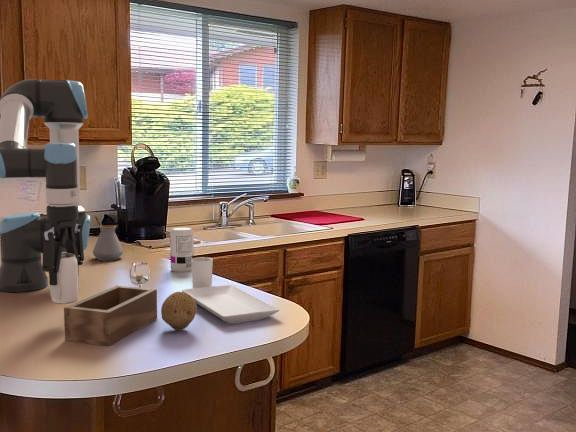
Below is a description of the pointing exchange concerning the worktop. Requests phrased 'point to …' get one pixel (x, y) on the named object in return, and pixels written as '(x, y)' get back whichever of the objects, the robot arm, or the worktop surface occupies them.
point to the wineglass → (139, 273)
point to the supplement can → (181, 249)
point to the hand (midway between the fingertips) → (64, 293)
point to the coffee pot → (107, 243)
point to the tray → (231, 303)
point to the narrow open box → (110, 315)
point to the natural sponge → (178, 310)
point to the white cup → (202, 272)
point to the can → (68, 279)
